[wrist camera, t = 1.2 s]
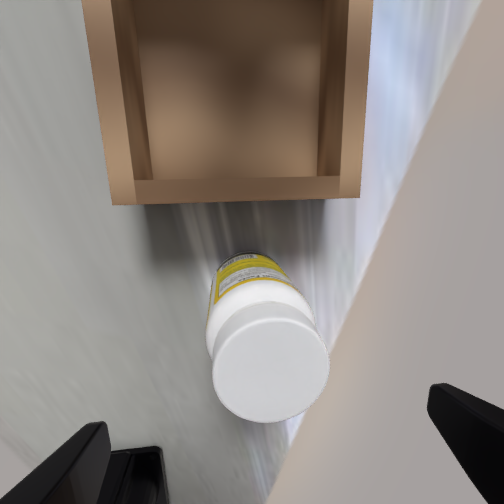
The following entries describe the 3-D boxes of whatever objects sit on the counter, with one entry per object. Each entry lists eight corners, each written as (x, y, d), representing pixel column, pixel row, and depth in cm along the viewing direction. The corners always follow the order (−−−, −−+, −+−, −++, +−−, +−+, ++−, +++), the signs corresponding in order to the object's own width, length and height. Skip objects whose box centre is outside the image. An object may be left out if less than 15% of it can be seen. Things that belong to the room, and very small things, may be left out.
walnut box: (326, 196, 16) (359, 197, 12) (142, 202, 14) (112, 205, 11) (334, -20, 13) (380, -110, 9) (113, -32, 12) (60, -140, 8)
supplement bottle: (262, 329, 17) (296, 451, 9) (199, 302, 16) (173, 410, 8) (297, 268, 16) (367, 341, 8) (232, 236, 16) (241, 283, 7)
